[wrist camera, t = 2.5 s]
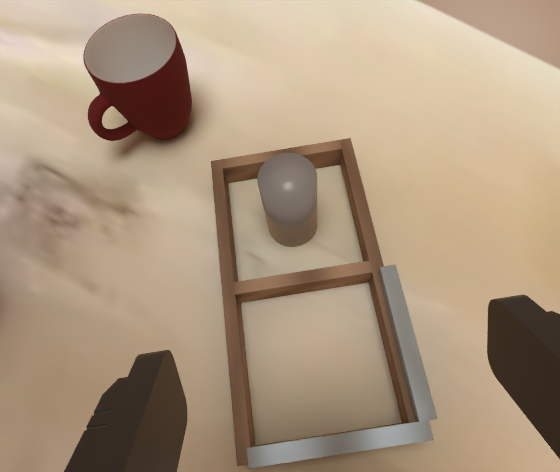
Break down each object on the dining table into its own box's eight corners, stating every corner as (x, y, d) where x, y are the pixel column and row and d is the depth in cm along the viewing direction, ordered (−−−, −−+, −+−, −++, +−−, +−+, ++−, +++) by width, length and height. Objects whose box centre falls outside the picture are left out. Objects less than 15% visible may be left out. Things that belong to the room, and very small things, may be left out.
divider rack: (243, 465, 31) (235, 470, 28) (216, 175, 41) (208, 154, 38) (429, 437, 31) (442, 438, 28) (355, 152, 41) (359, 130, 38)
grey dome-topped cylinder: (272, 250, 38) (261, 208, 30) (265, 207, 40) (254, 157, 32) (320, 242, 38) (321, 198, 30) (312, 199, 40) (311, 148, 32)
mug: (150, 187, 42) (103, 120, 32) (97, 147, 44) (40, 75, 35) (222, 116, 44) (197, 37, 35) (168, 83, 47) (132, 0, 38)
